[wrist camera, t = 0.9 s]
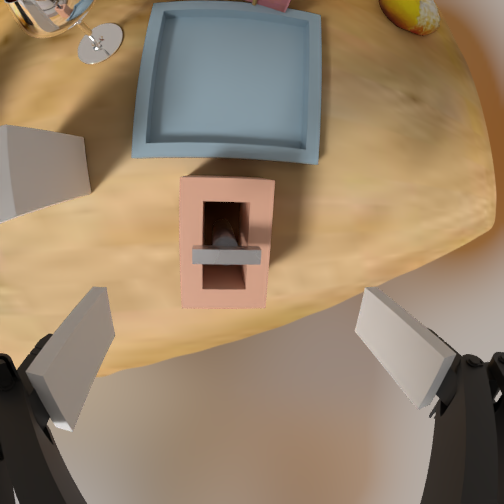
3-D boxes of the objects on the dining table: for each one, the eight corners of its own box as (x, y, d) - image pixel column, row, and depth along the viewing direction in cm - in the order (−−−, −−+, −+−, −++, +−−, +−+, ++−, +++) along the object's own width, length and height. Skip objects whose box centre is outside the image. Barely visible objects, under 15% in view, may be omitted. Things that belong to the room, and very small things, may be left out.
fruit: (419, 53, 27) (440, 28, 19) (363, 14, 27) (374, -16, 19) (438, 25, 25) (456, 2, 17) (389, -9, 25) (400, -35, 17)
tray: (137, 158, 28) (131, 158, 26) (156, 12, 22) (153, 3, 20) (310, 164, 31) (318, 164, 29) (314, 22, 25) (320, 15, 23)
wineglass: (109, 76, 24) (31, 12, 7) (62, 66, 22) (-21, 21, 5) (141, 22, 22) (98, -64, 5) (92, 16, 20) (34, -51, 3)
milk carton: (84, 136, 26) (-27, 120, 8) (92, 193, 28) (-18, 229, 10) (40, 153, 25) (-70, 159, 7) (48, 206, 28) (-59, 249, 10)
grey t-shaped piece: (198, 237, 32) (192, 270, 22) (198, 218, 31) (192, 243, 21) (244, 238, 32) (260, 270, 22) (245, 219, 32) (262, 244, 22)
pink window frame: (252, 291, 35) (263, 325, 27) (188, 291, 33) (183, 325, 26) (259, 177, 31) (274, 180, 23) (188, 175, 29) (180, 177, 22)
